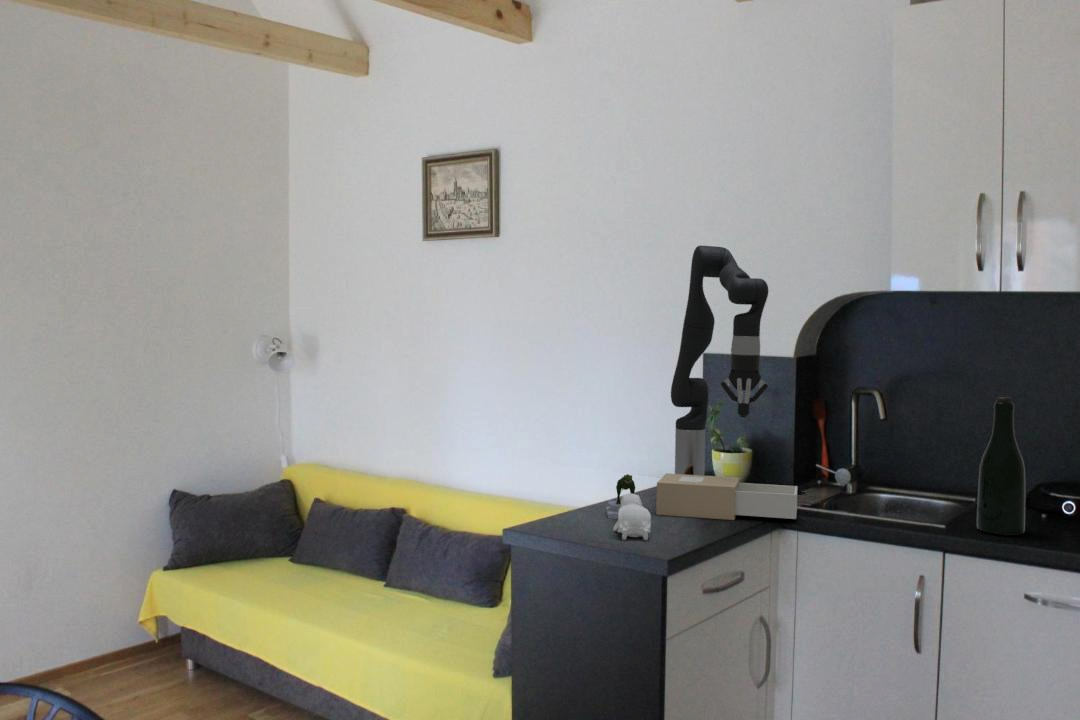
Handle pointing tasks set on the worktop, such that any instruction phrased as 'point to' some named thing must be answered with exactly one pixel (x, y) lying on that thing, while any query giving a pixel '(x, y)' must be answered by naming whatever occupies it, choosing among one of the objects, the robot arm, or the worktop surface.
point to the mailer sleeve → (697, 496)
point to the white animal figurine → (633, 518)
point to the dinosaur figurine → (615, 505)
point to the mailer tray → (766, 500)
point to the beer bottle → (1002, 477)
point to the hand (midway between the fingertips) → (743, 417)
